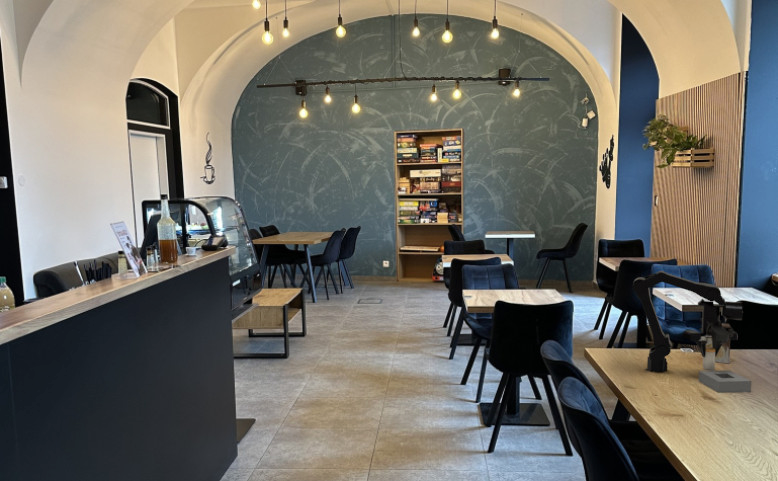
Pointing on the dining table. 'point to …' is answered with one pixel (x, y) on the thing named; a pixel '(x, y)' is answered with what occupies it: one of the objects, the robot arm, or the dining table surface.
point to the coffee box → (721, 349)
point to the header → (724, 381)
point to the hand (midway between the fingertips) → (709, 356)
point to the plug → (709, 359)
